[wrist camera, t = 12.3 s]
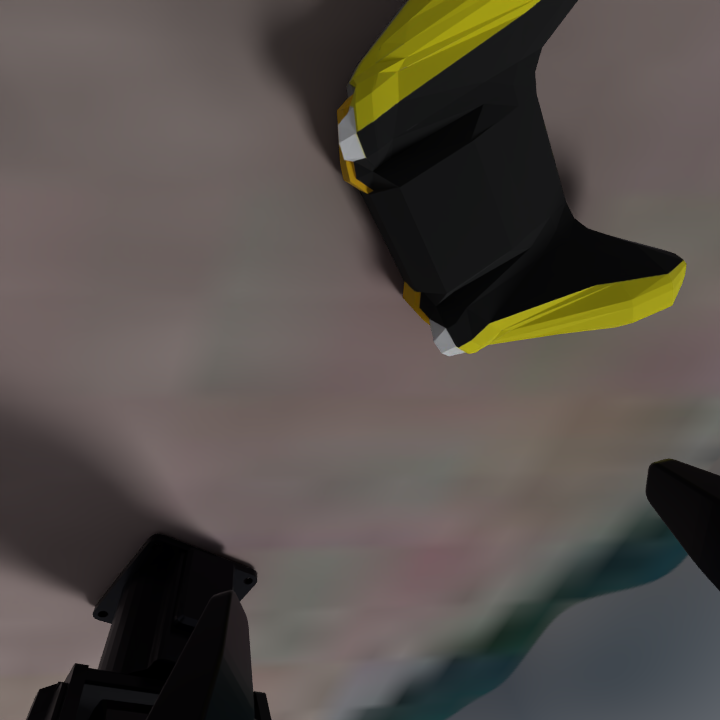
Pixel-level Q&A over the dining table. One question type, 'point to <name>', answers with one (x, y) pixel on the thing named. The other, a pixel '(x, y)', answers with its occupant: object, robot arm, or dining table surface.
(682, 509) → the robot arm
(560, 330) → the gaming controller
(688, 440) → the dining table surface
